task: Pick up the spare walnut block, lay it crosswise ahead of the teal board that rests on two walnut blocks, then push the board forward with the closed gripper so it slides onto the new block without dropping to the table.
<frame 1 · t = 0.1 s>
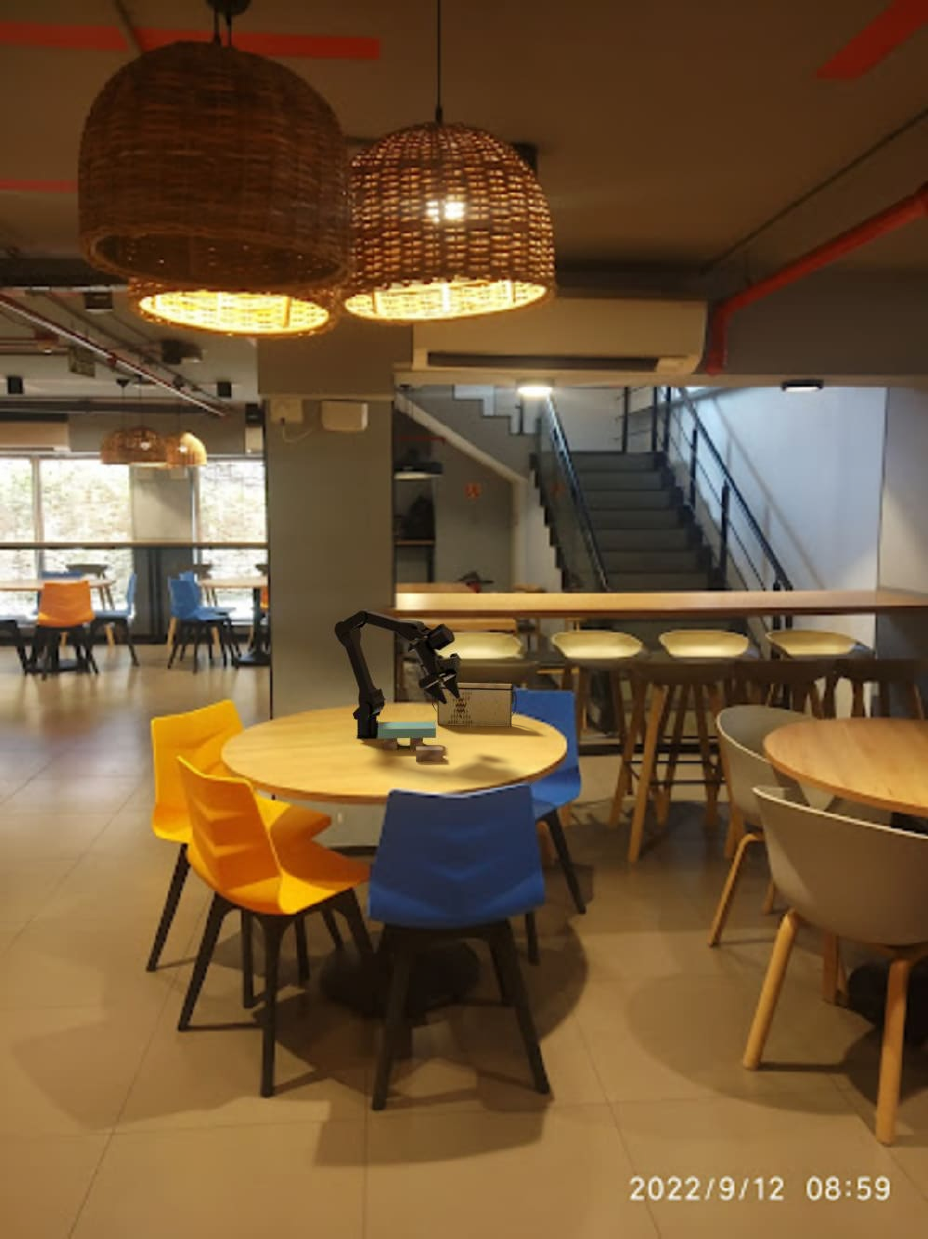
hand: (452, 701, 278), 15 cm above the table, fingers open, 9 cm apart
block 1: (390, 747, 281), on the table, touching slab
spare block: (429, 760, 267), on the table
slab: (407, 734, 281), point 4 cm above the table, touching block 2, block 1
block 2: (416, 746, 282), on the table, touching slab
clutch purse: (474, 724, 311), on the table
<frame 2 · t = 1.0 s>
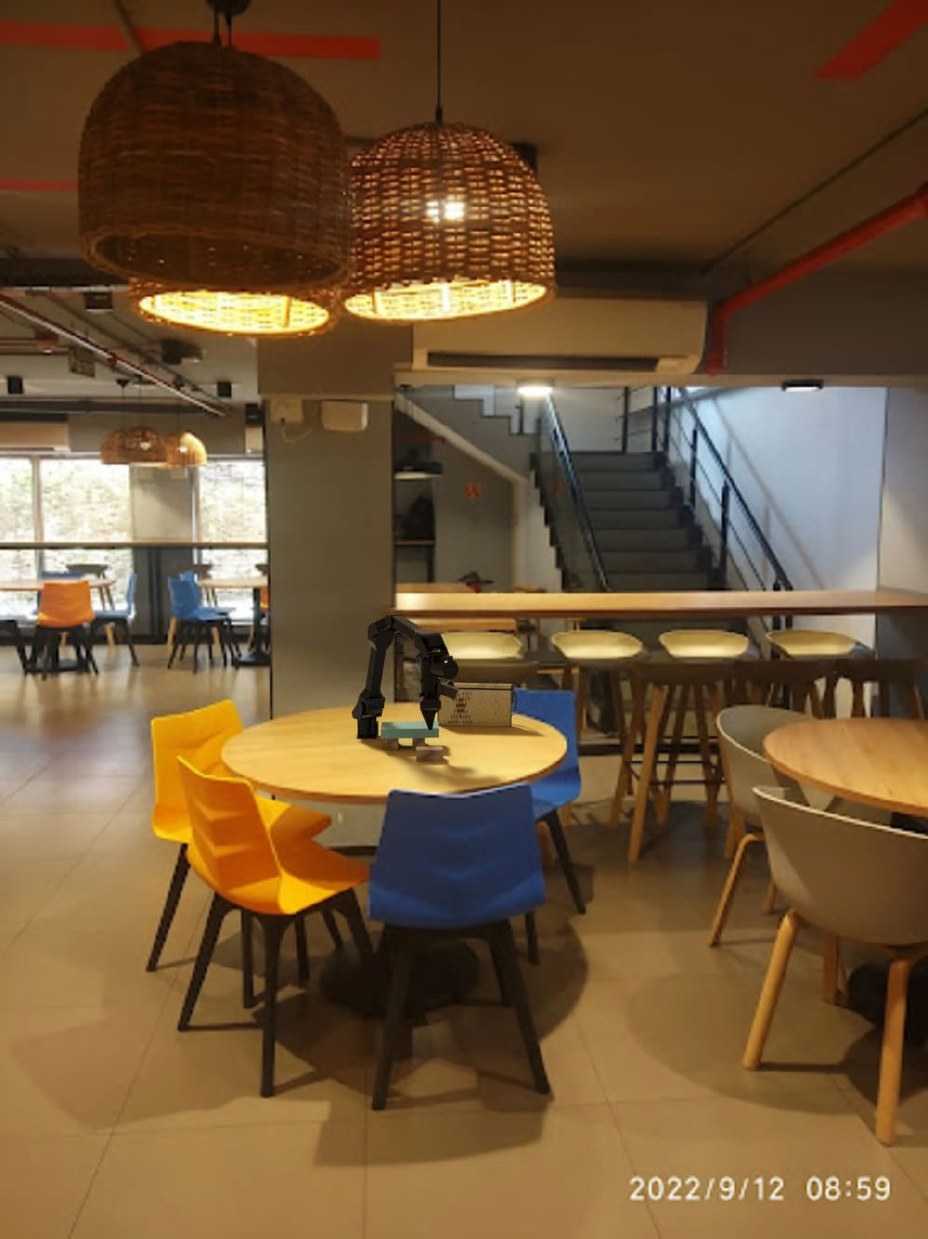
hand: (430, 726, 266), 10 cm above the table, fingers open, 9 cm apart
block 1: (392, 747, 281), on the table
slab: (410, 734, 281), point 4 cm above the table, touching block 2
everything else where it was.
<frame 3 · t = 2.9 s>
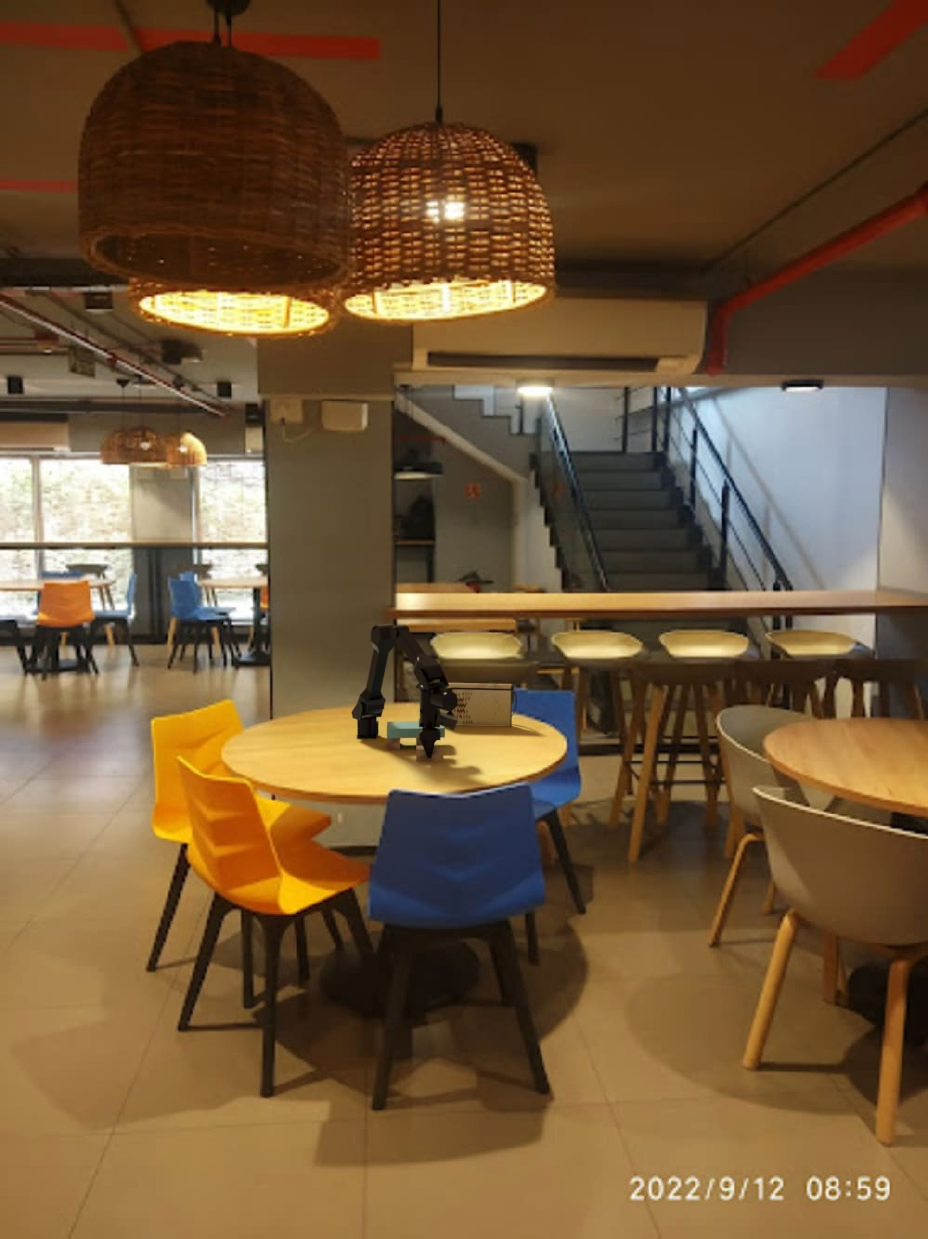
hand: (429, 756, 267), 1 cm above the table, fingers closed on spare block, 4 cm apart
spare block: (429, 759, 267), on the table, touching gripper
slab: (415, 734, 281), point 4 cm above the table, touching block 2
block 2: (422, 746, 282), on the table, touching slab
everything else where it was.
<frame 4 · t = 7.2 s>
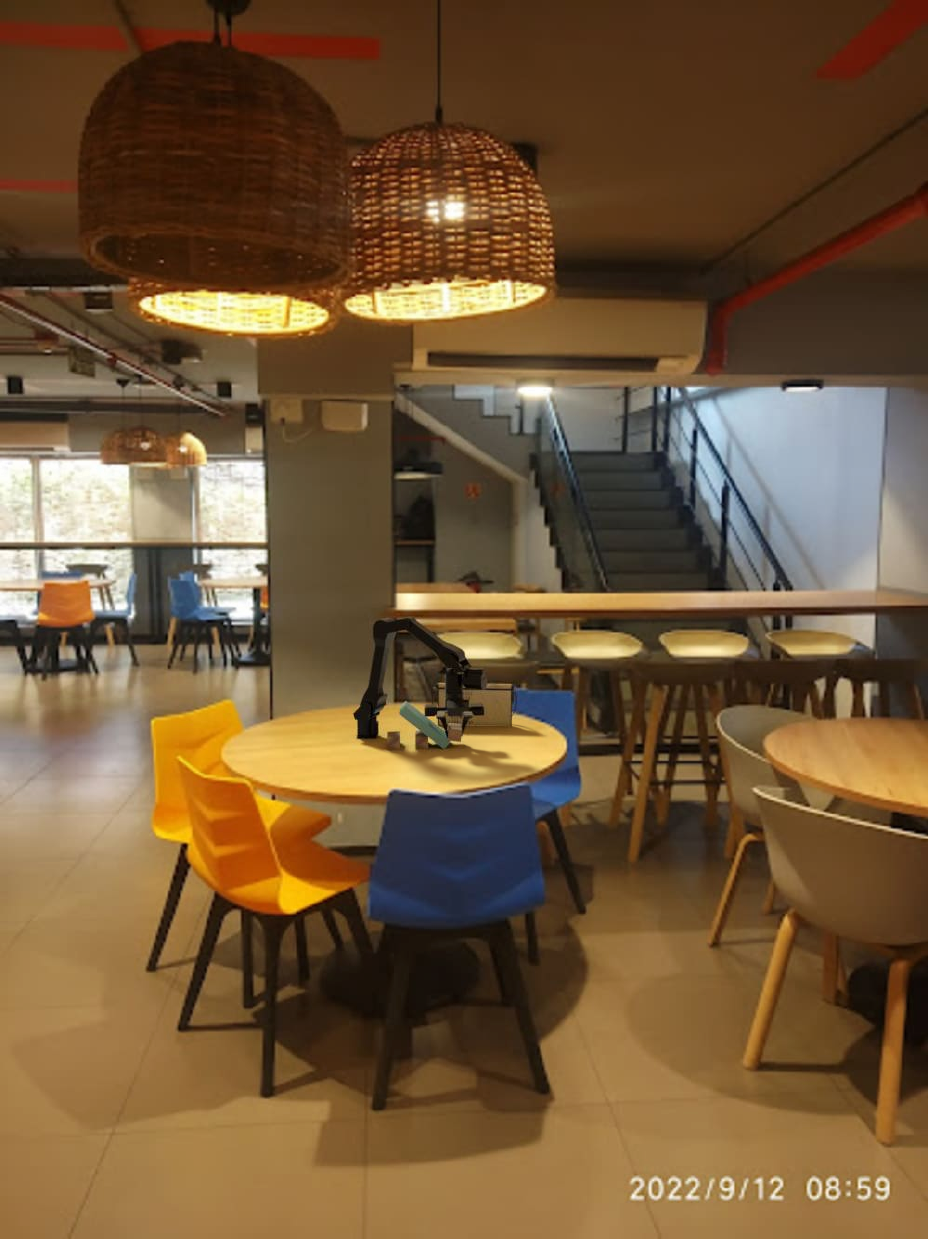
hand: (454, 736, 282), 3 cm above the table, fingers closed on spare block, 4 cm apart
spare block: (453, 737, 282), point 3 cm above the table, tilted 7°, touching gripper
slab: (421, 728, 282), point 6 cm above the table, tilted 39°
block 2: (421, 746, 282), on the table
everything else where it was.
when the fingers open (2 cm above the table, at t = 7.8 s): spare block drops 2 cm, on the table.
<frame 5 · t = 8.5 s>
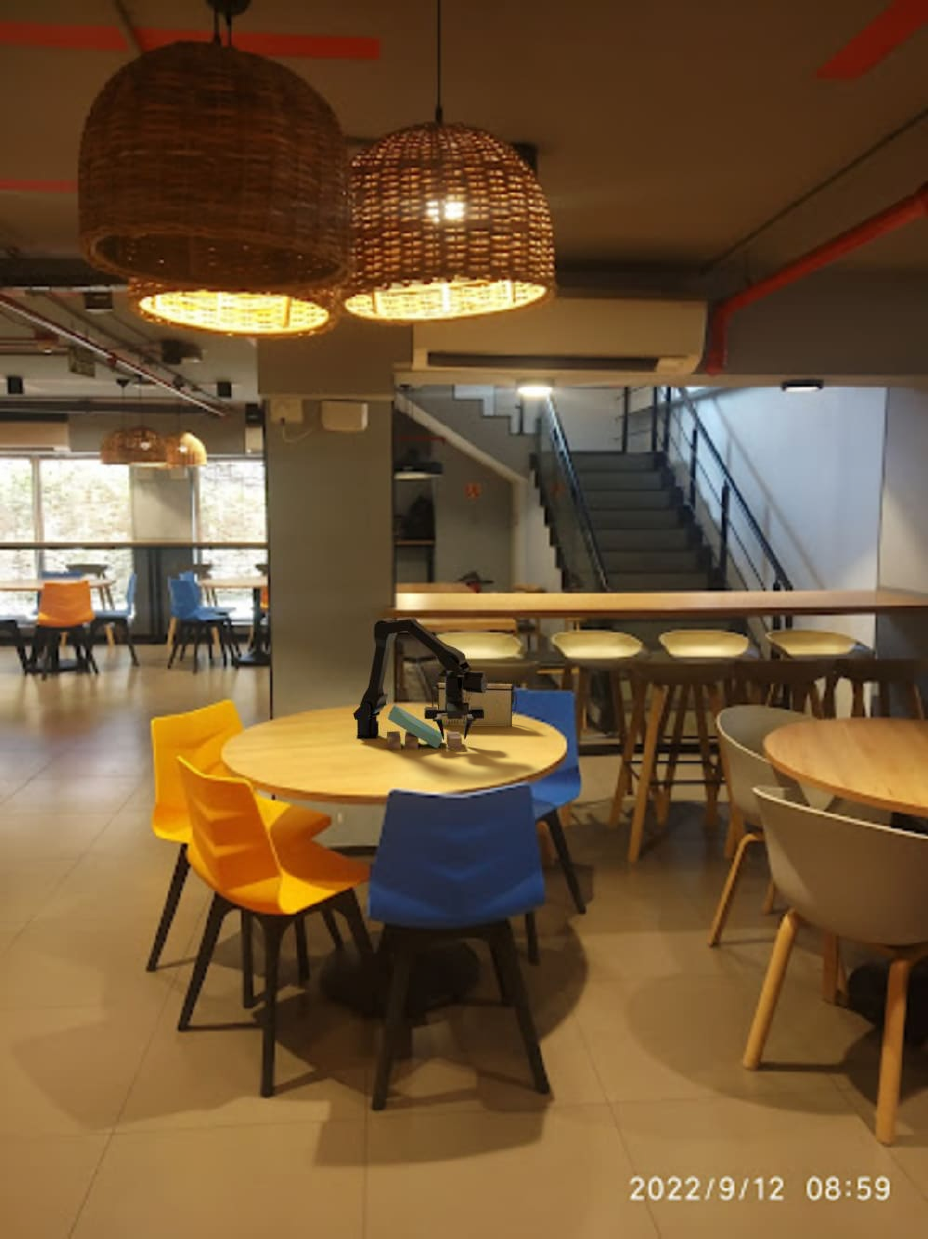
hand: (454, 739, 282), 2 cm above the table, fingers open, 6 cm apart
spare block: (454, 746, 282), on the table
slab: (412, 730, 282), point 5 cm above the table, tilted 32°, touching block 2, gripper
block 2: (411, 746, 282), on the table, touching slab
everything else where it was.
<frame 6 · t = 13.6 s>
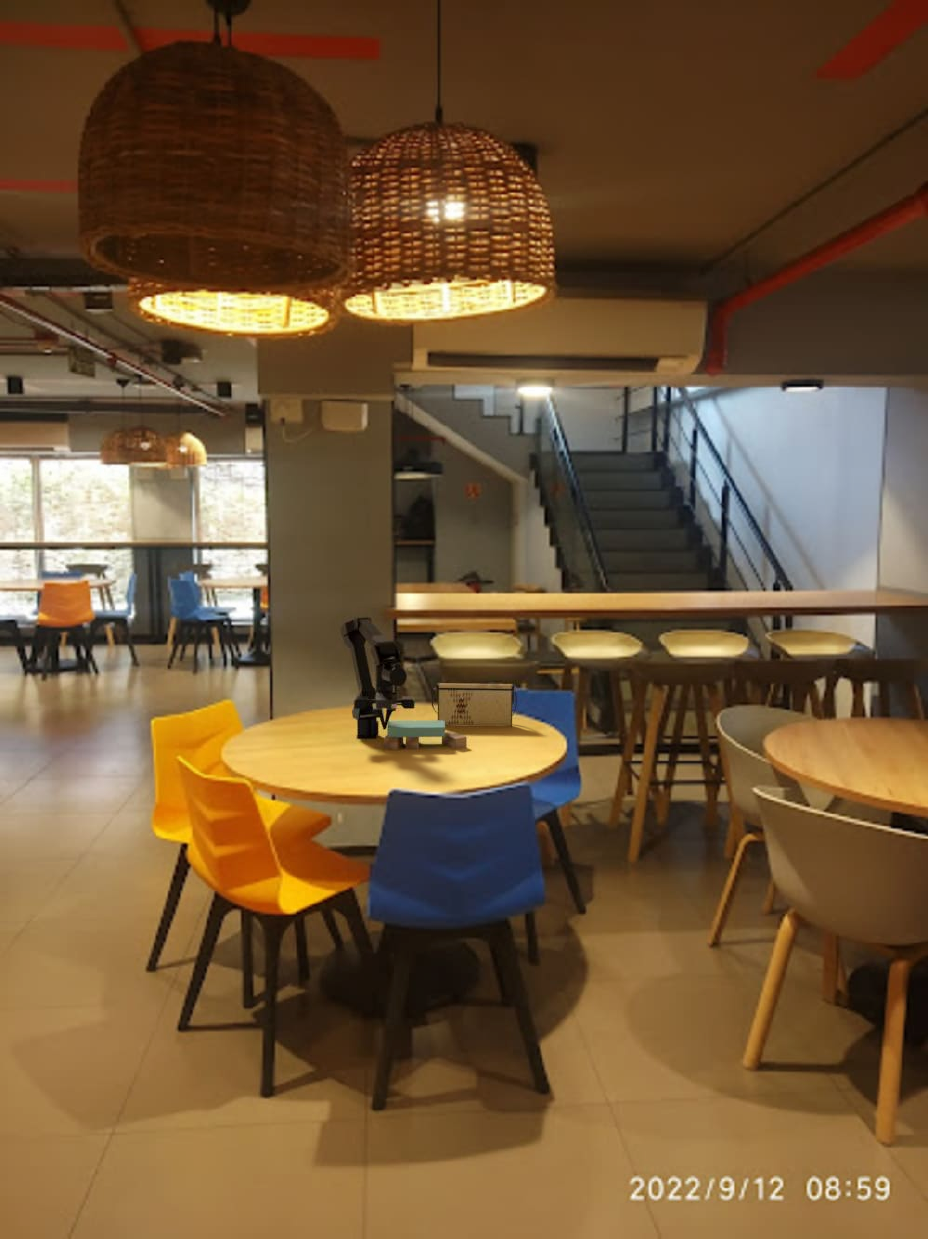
hand: (384, 729, 280), 6 cm above the table, fingers closed
slab: (416, 733, 283), point 4 cm above the table, touching block 2
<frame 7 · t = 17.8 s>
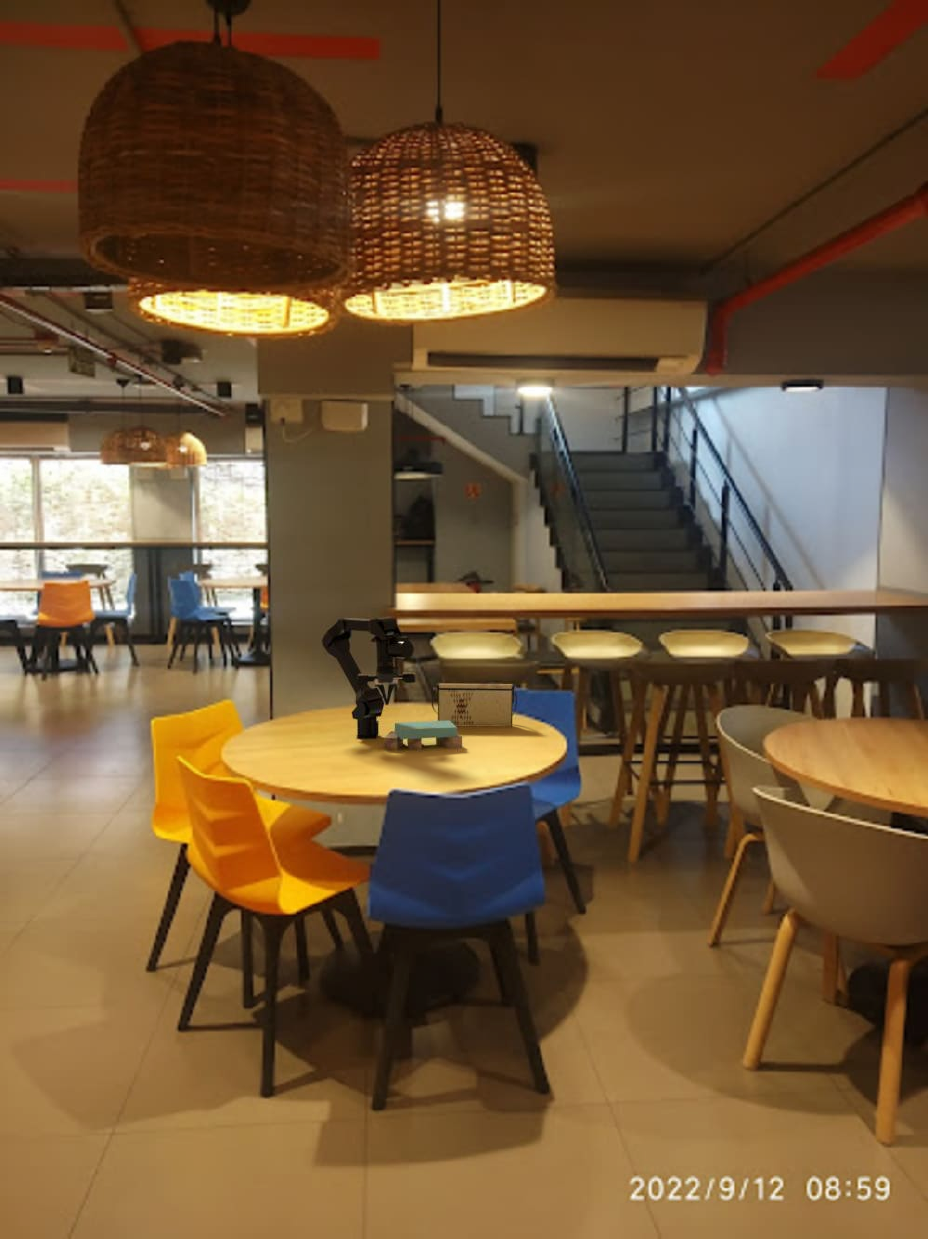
hand: (387, 704, 286), 12 cm above the table, fingers closed
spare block: (449, 746, 283), on the table, touching slab
slab: (425, 734, 282), point 4 cm above the table, touching block 2, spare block
block 2: (414, 746, 282), on the table, touching slab
everything else where it was.
at the end: slab inside the target area (4.2 cm from its centre), point 3.8 cm above the table; slab touching block 2; slab tilted 2° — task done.
